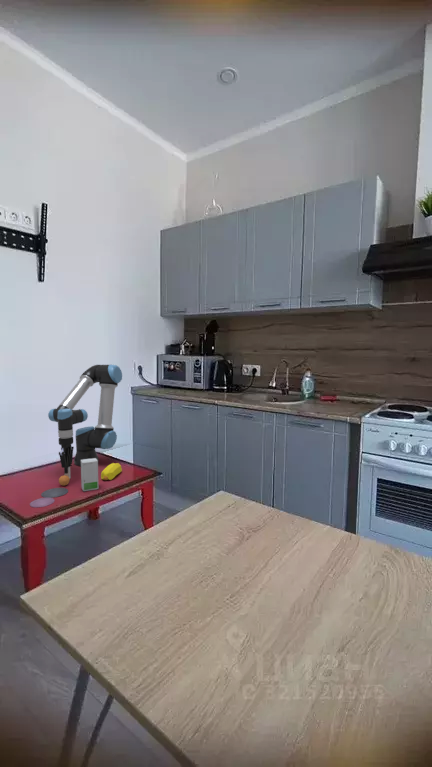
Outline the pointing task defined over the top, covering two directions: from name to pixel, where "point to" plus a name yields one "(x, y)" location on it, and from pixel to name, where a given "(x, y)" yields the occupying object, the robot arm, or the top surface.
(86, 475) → the skincare box
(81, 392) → the robot arm
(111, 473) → the yellow elongated piece
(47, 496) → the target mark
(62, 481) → the ball
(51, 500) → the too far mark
